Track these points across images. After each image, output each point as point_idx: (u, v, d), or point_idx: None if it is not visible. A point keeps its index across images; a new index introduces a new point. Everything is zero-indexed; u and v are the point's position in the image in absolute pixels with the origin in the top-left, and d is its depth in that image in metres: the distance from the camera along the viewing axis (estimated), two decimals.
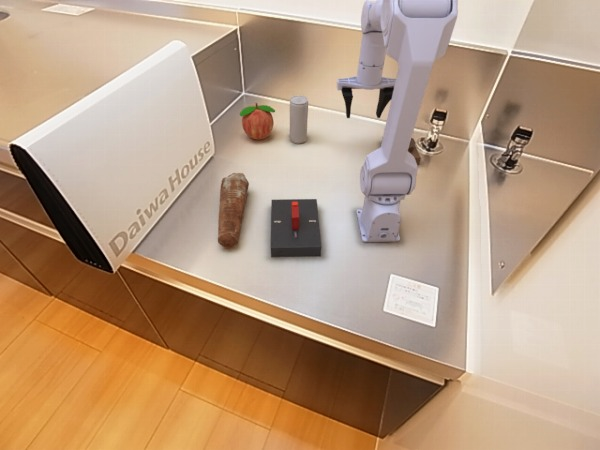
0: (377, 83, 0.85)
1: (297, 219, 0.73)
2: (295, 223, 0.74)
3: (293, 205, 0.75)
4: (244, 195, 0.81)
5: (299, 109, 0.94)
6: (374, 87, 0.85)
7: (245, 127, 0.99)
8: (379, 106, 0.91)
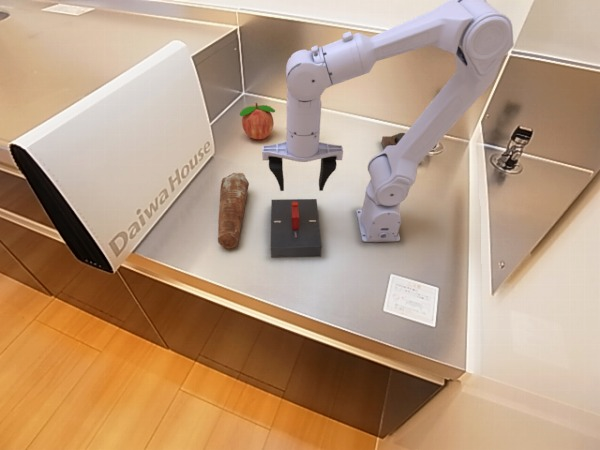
0: (312, 154, 0.65)
1: (297, 219, 0.73)
2: (295, 223, 0.74)
3: (293, 205, 0.75)
4: (244, 195, 0.81)
5: None
6: (308, 159, 0.65)
7: (245, 127, 0.99)
8: (320, 177, 0.71)
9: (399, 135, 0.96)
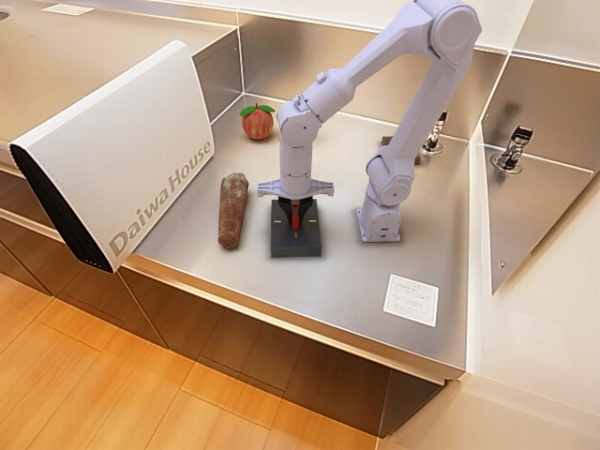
0: (304, 192, 0.68)
1: (297, 219, 0.73)
2: (295, 223, 0.74)
3: (293, 205, 0.75)
4: (244, 195, 0.81)
5: None
6: (301, 197, 0.68)
7: (245, 127, 0.99)
8: (299, 211, 0.74)
9: None
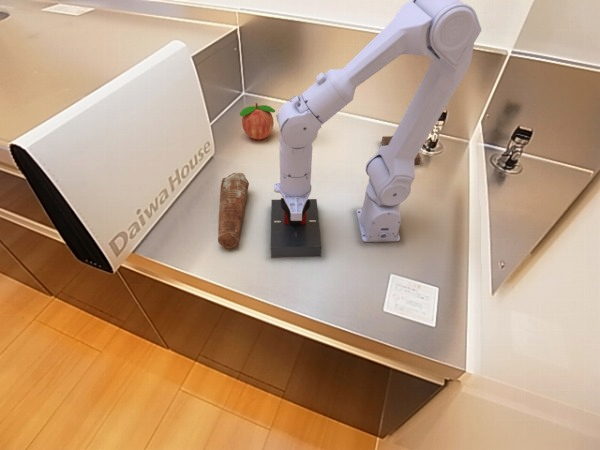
0: None
1: None
2: None
3: None
4: (244, 195, 0.81)
5: None
6: None
7: (245, 127, 0.99)
8: None
9: None
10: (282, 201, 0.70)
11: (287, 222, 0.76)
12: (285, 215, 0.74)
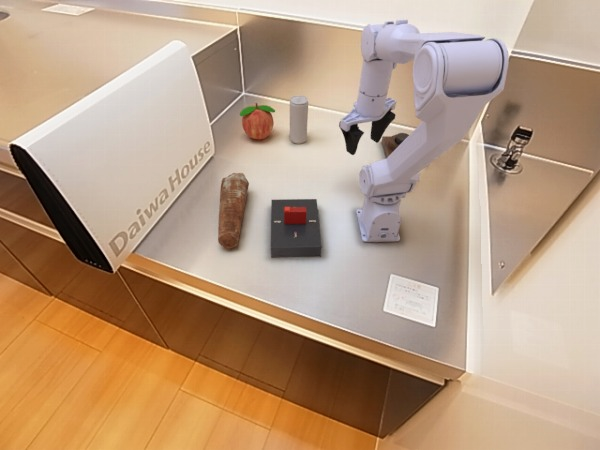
0: (383, 110, 0.76)
1: None
2: None
3: (289, 210, 0.74)
4: (244, 195, 0.81)
5: (299, 109, 0.94)
6: (382, 115, 0.76)
7: (245, 127, 0.99)
8: (377, 131, 0.83)
9: (399, 135, 0.96)
10: None
11: (287, 222, 0.76)
12: (285, 215, 0.74)
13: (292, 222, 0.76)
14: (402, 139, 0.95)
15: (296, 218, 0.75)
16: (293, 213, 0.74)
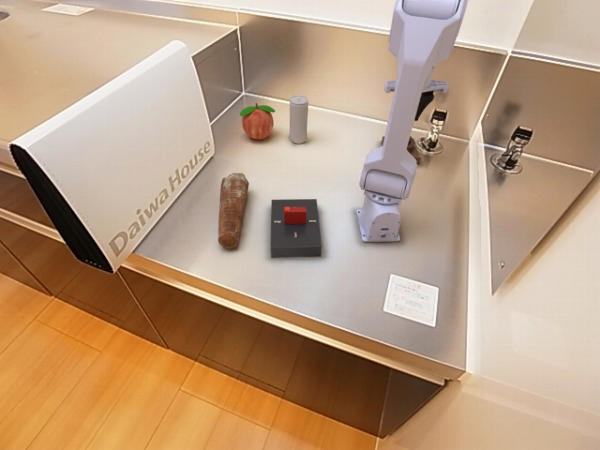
0: (427, 86, 0.84)
1: None
2: None
3: (289, 210, 0.74)
4: (244, 195, 0.81)
5: (299, 109, 0.94)
6: (424, 90, 0.84)
7: (245, 127, 0.99)
8: (417, 109, 0.90)
9: None
10: None
11: (287, 222, 0.76)
12: (285, 215, 0.74)
13: (292, 222, 0.76)
14: None
15: (296, 218, 0.75)
16: (293, 213, 0.74)
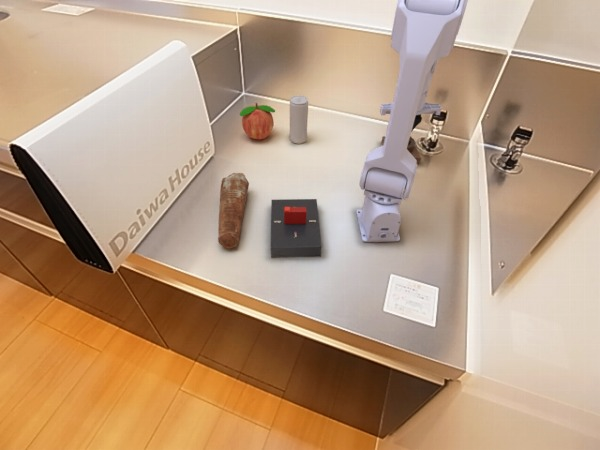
0: (420, 109, 0.88)
1: None
2: None
3: (289, 210, 0.74)
4: (244, 195, 0.81)
5: (299, 109, 0.94)
6: (418, 113, 0.88)
7: (245, 127, 0.99)
8: None
9: None
10: None
11: (287, 222, 0.76)
12: (285, 215, 0.74)
13: (292, 222, 0.76)
14: None
15: (296, 218, 0.75)
16: (293, 213, 0.74)
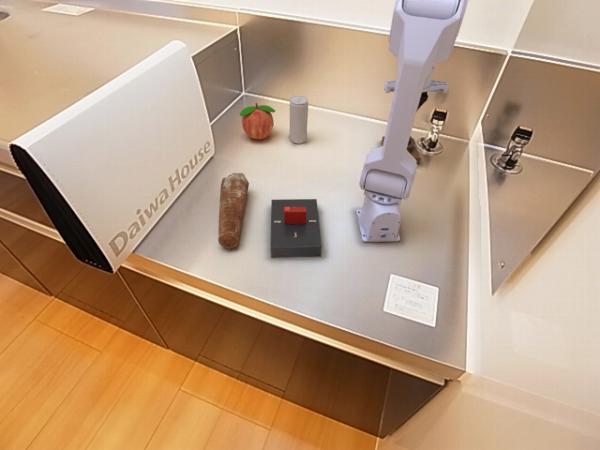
0: (427, 86, 0.84)
1: None
2: None
3: (289, 210, 0.74)
4: (244, 195, 0.81)
5: (299, 109, 0.94)
6: (424, 90, 0.84)
7: (245, 127, 0.99)
8: None
9: None
10: None
11: (287, 222, 0.76)
12: (285, 215, 0.74)
13: (292, 222, 0.76)
14: None
15: (296, 218, 0.75)
16: (293, 213, 0.74)
